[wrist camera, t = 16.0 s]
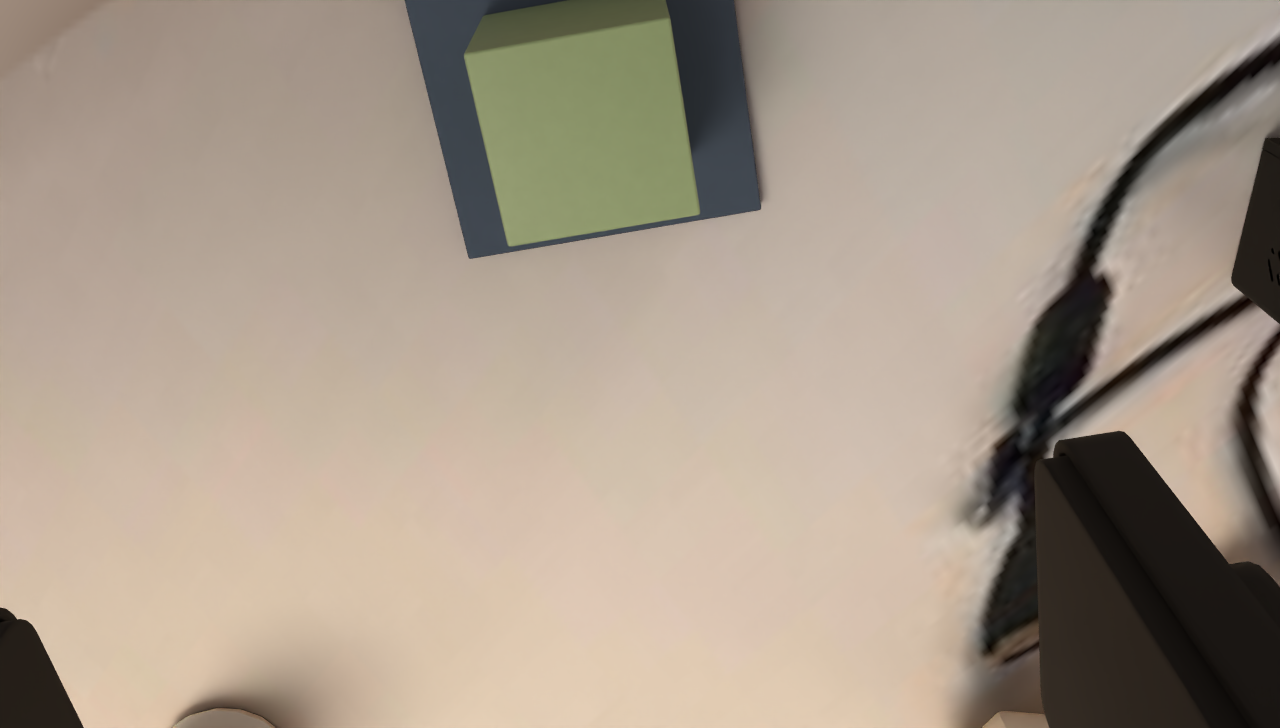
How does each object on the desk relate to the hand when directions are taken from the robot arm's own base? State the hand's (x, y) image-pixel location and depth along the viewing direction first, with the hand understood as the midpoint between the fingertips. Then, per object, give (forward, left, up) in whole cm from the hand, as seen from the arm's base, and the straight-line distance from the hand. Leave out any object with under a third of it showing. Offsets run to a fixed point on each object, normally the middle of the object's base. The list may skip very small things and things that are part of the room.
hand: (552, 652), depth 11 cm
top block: (0, 0, -22) cm, 22 cm away
